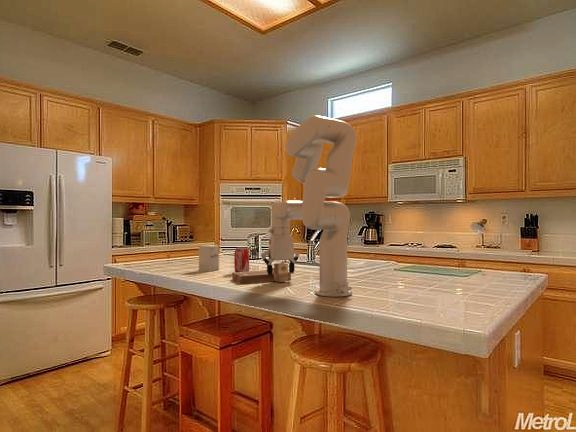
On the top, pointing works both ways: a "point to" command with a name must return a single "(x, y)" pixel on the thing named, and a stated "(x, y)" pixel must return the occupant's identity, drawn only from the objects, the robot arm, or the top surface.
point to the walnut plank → (254, 277)
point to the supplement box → (208, 258)
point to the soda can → (241, 260)
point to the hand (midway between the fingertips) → (280, 273)
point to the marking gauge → (280, 272)
